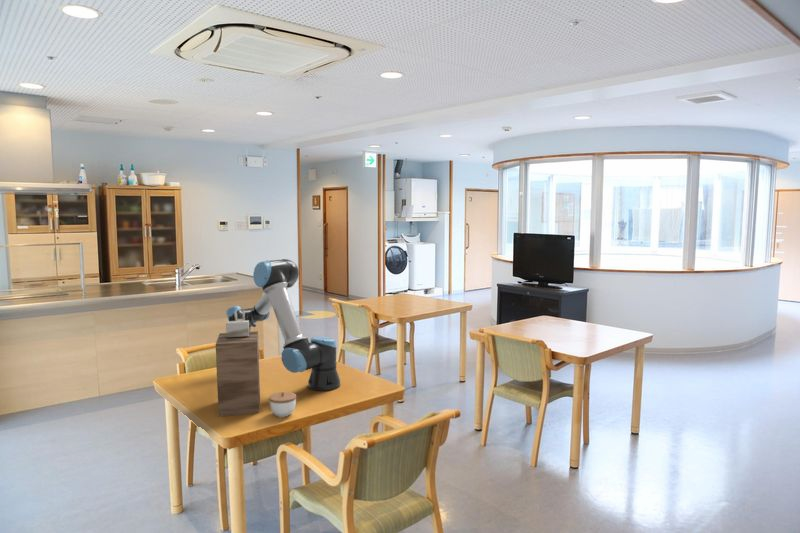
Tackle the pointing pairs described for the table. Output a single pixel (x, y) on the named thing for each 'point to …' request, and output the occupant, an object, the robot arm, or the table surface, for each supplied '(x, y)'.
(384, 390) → the table surface
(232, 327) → the pale grey block
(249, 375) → the stand
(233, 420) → the table surface
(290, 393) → the lidded jar
